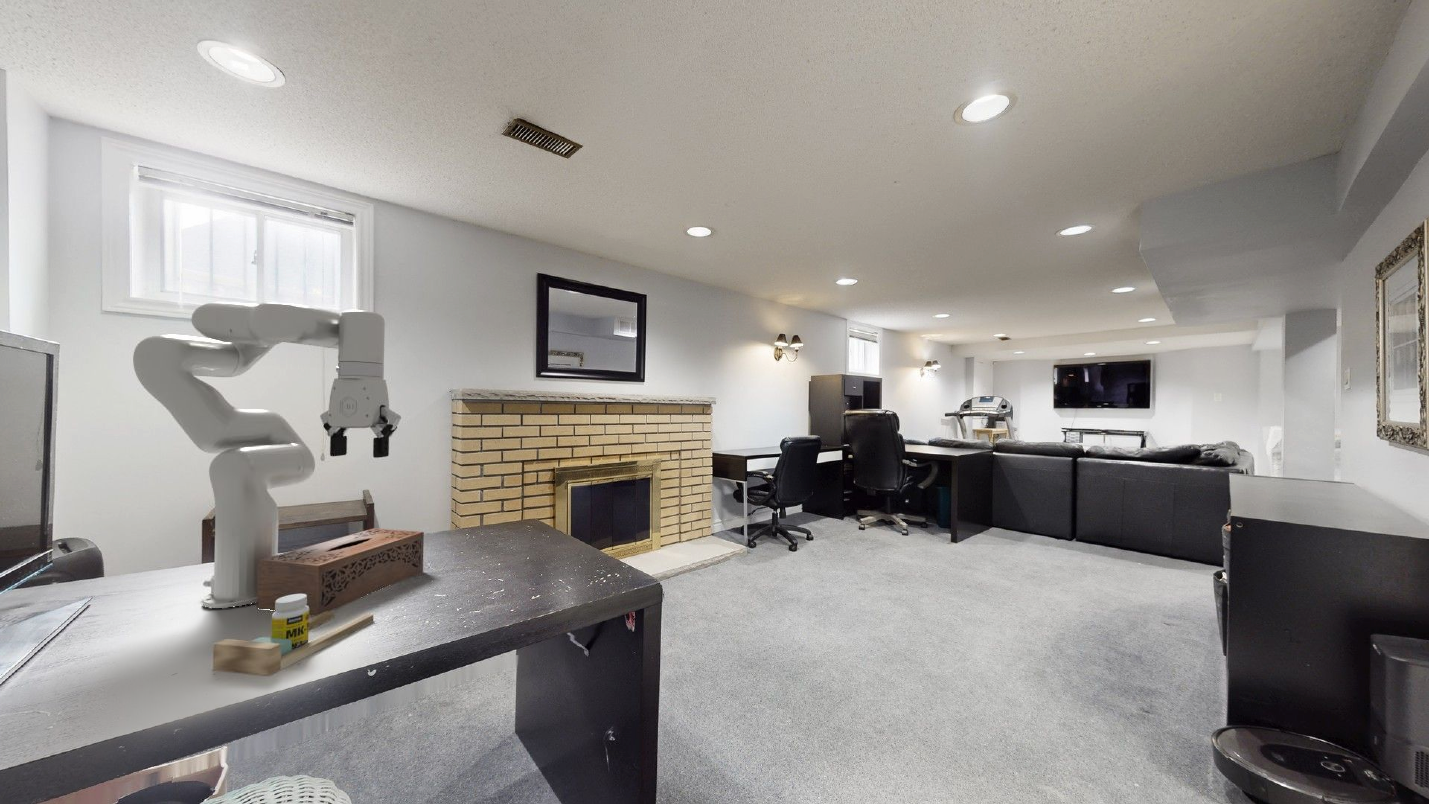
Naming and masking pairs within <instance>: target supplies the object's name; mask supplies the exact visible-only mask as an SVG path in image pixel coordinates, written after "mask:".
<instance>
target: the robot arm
mask: <svg viewBox="0 0 1429 804" xmlns="http://www.w3.org/2000/svg"><path fill="white" fill-rule="evenodd" d="M190 319H191V320H190V321H191V324H192V327H193V328H194V329H195V330H196V331H197V333H199V334H200V335H201V336H203V337H198V336H191V335H181V334H180V335H179V334H159V335H154V336H150V337H146V338H144V339H142V340H141V341H140V342H139V343H137V345H136V346H135V348H134V351H133V355H132V356H133V357H132V364H133V369H134V372H135V376H136V378H137V380H138V382H140V384H141V385H142V387H143V388H144V389H145V390H146V391H147V393H148V394H150V395H151V396H152V397H153V398H154V399H155V400H156V401H158V402H159V403H160V404H161V405H162V406H163V407H164V408H165V409H166V410H167V411H168V412H169V413H170V415H171V416H172V418H173V419H174V420H175V421H176V423H177V424H178V425H179V426H180V427H181V429H182V430H183V431H184V433H185V434H186V435H187V437H188V438H189V440H191V441H192V443H193V444H194V445H195V446H196V447H197V448H198V449H199V450H201V452H202V451H203V452H204V453H207V454H215V455H216V454H217V455H216V456H215V457H214V458H213V459H212V461H211V462H210V465H209V469H208V473H209V474H208V475H209V480H210V484H211V487H212V492H213V498H214V506H215V507H214V509H215V511H214V512H215V516H214V517H215V521H214V524H215V525H214V526H215V527H214V529H215V530H214V533H215V534H214V561H213V562H214V564H213V565H214V567H213V568H214V569H213V575H212V577H211V578H210V579H206V580H204V581H203V583H202V585H203V587H207V588H210V593H208V595H206V596H204V597H203V598H202V601H201V602H202V603H203V605H204V606H206V607H211V608H210V609H212V608H222V609H229V608H228V607H233V606H239V607H243V606H242V605H245V606H247V605H246V604H250V605H252V604H251V603H254V604H258V603H257V602H258V563H259V560H261V559H265V558H268V557H272V556H275V555H279V550H278V549H279V507H278V505H277V502H276V501H275V499H274V498H273V497H272V495H271V494H270V493H269V491H268V490H271V489H275V488H280V487H288V486H292V485H297V484H300V483H303V482H306V481H307V480H309V479H310V478H311V476H312V475H313V474H314V472H315V468H316V461H315V458H314V457H315V456H314V455H313V453H312V451H311V450H310V448H309V447H308V445H307V444H306V443H305V442H304V441H303V439H302V438H301V436H299V434H298V433H297V432H296V431H295V429H294V428H293V427H292V426H291V425H290V423H289V422H288V421H287V420H286V419H285V418H284V417H283V416H281V415H280V414H278V413H277V412H274V411H272V410H268V409H260V408H259V409H257V408H253V409H252V408H249V409H248V408H246V409H245V408H239V407H235V406H233V405H232V404H230V402H228V401H227V400H226V399H225V397H224V396H223V394H222V393H221V392H220V391H219V390H218V389H216V388H215V387H213V386H212V385H210V384H209V383H207V382H205V381H203V380H201V379H200V378H198V377H211V378H212V377H213V378H214V377H215V378H234V377H237V376H241V375H243V374H245V373H246V372H248V371H249V370H250V369H251V368H252V367H253V366H255V365H256V364H257V362H259V361H260V360H261V359H262V358H263V357H264V356H265V355H267V354H268V353H269V352H270V351H272V349H273V348H274V347H276V346H277V345H279V344H281V343H289V344H297V345H304V346H315V347H322V348H328V349H334V350H335V349H336V350H338V352H337V353H338V354H337V366H336V368H335V371H336V372H337V377H336V378H334V379H333V382H332V386H331V390H330V394H329V403H328V410H326V411H325V412H323V413H321V414H320V416H319V417H320V420H321V422H322V425H323V426H322V427H323V428H324V430H325V431H326V432H327V433H326V434H327V436H328V437H329V438H330V440H329V441H330V442H329V445H330V446H329V456H330V457H340V456H346V455H347V453H348V449H347V447H348V436H347V435H345V434H346V433H347V431H348V430H349V429H367V428H370V429H371V431H372V432H373V433H374V435H375V436H376V437H373V439H372V440H373V443H372V444H373V446H372V447H373V448H372V452H373V453H372V457H373V458H374V459H377V458H385V457H388V456H389V454H390V453H389V452H390V451H389V450H390V449H389V448H390V438H392V437H393V434H394V432H395V431H396V430H397V429H398V425H399V424H400V421H401V419H402V416H401V415H400V414H398V413H397V412H395V411H394V410H391V409H390V399H389V392H388V386H387V380H386V379H384V377H385V375H384V374H385V373H384V372H385V369H384V368H385V329H386V328H385V326H386V324H385V319H384V317H383V315H381V314H379V313H377V312H373V311H369V310H368V311H367V310H361V309H359V310H358V309H350V310H349V309H348V310H344V311H342V312H341V313H339V312H336V311H331V310H327V309H324V308H323V309H322V308H318V307H313V306H307V305H302V304H294V303H281V302H279V303H278V302H261V303H259V304H258V303H242V302H229V301H228V302H227V301H226V302H225V301H215V302H214V301H213V302H208V303H204V304H202V305H199V306H198V307H197V308H196V309H194V311H193V313H192V315H191V318H190ZM202 603H201V604H202ZM203 605H202V606H203ZM204 606H203V607H204ZM206 607H205V608H206ZM233 608H234V607H233Z"/></svg>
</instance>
